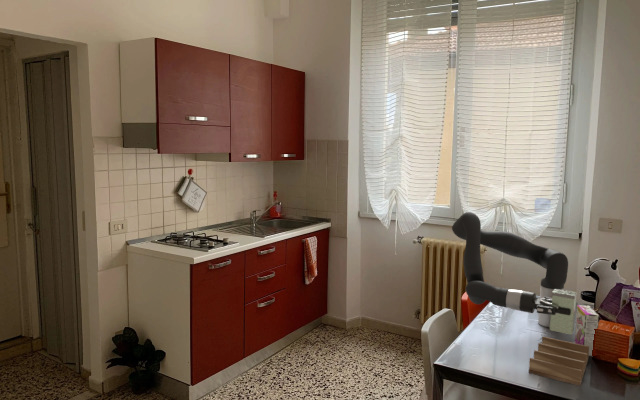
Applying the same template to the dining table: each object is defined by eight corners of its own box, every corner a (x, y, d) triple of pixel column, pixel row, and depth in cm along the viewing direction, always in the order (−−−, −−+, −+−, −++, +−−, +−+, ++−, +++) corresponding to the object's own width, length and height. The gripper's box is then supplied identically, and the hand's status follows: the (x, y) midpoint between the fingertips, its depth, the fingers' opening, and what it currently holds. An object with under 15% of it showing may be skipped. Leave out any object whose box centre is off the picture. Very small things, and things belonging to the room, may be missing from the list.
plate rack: (541, 348, 190) (542, 335, 190) (588, 358, 182) (589, 345, 181) (528, 372, 170) (529, 359, 169) (580, 385, 161) (581, 371, 160)
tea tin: (552, 325, 178) (554, 288, 177) (573, 330, 174) (576, 292, 173) (549, 330, 174) (552, 292, 172) (571, 334, 170) (574, 295, 168)
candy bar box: (573, 344, 195) (576, 304, 193) (586, 345, 194) (589, 305, 192) (582, 356, 184) (585, 314, 182) (596, 357, 183) (600, 315, 181)
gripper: (517, 295, 175) (569, 305, 165) (525, 286, 187) (575, 294, 177) (515, 315, 176) (568, 326, 166) (524, 305, 188) (573, 314, 178)
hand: (571, 310), depth 172 cm, fingers closed on tea tin, 5 cm apart
